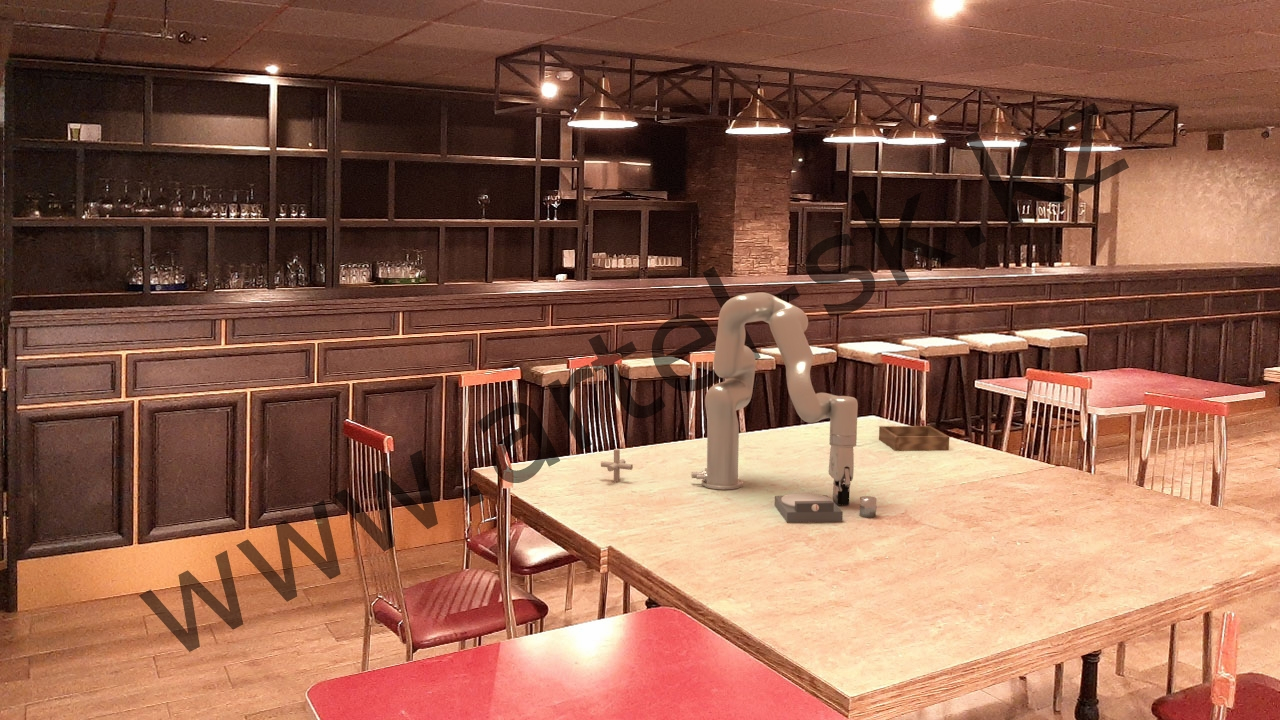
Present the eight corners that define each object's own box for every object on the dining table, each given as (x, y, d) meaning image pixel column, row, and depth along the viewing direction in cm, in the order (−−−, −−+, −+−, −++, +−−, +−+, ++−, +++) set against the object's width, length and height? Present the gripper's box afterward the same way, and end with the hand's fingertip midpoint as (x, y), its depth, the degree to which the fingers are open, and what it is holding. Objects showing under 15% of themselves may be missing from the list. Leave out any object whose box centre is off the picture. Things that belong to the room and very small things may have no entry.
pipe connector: (595, 483, 315) (595, 451, 314) (608, 476, 324) (608, 445, 323) (625, 486, 311) (625, 454, 310) (637, 479, 320) (637, 447, 319)
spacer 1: (835, 505, 292) (835, 488, 291) (831, 501, 296) (831, 484, 296) (850, 505, 292) (851, 488, 292) (846, 501, 297) (846, 484, 296)
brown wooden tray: (895, 450, 363) (895, 437, 363) (878, 439, 383) (879, 426, 382) (948, 450, 365) (949, 436, 364) (929, 439, 384) (930, 426, 383)
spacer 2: (861, 518, 279) (862, 500, 279) (857, 513, 284) (858, 496, 283) (877, 518, 280) (878, 500, 279) (873, 513, 284) (873, 495, 283)
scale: (787, 522, 274) (787, 503, 274) (774, 505, 292) (774, 487, 291) (842, 522, 276) (843, 503, 275) (826, 504, 293) (827, 486, 292)
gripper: (822, 434, 300) (820, 495, 302) (837, 446, 283) (835, 510, 286) (848, 433, 300) (846, 494, 303) (864, 446, 284) (862, 510, 286)
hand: (840, 501), depth 294 cm, fingers closed on spacer 1, 4 cm apart
